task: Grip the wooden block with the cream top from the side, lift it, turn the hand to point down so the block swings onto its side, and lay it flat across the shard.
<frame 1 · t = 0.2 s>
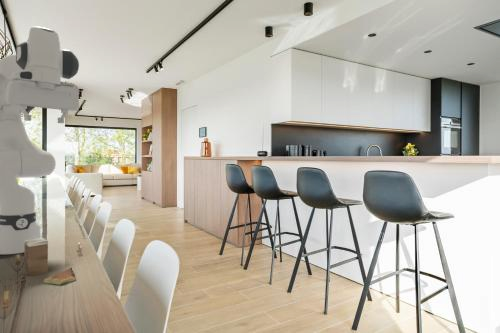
hand: (44, 121, 105), 48 cm above the table, tool pointing down, fingers open, 8 cm apart
wooden block: (36, 272, 102), on the table
shard: (59, 280, 97), on the table
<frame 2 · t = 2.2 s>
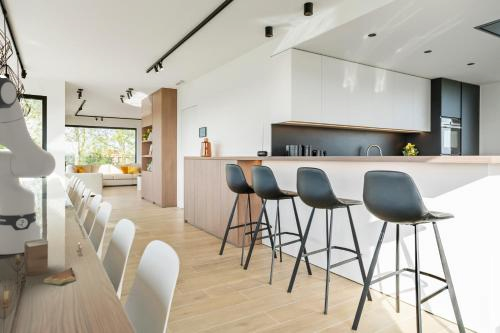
nothing on the table moved.
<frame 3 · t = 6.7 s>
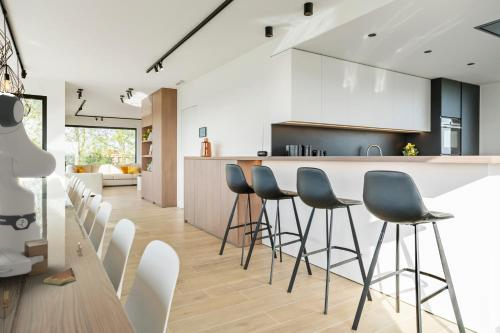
hand: (39, 255, 103), 5 cm above the table, tool horizontal, fingers closed on wooden block, 5 cm apart
wooden block: (36, 272, 102), on the table, touching gripper
everything else where it was.
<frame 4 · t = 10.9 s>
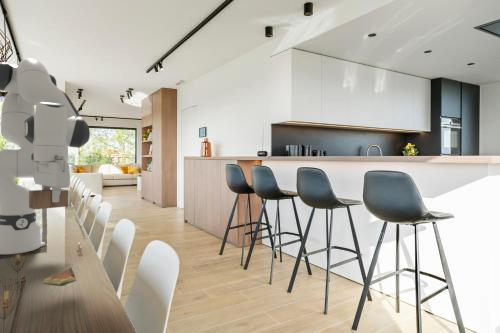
hand: (51, 201, 99), 23 cm above the table, tool pointing down, fingers closed on wooden block, 5 cm apart
wooden block: (31, 199, 95), point 24 cm above the table, tilted 90°, touching gripper
everything else where it was.
when the fingers open (5 cm above the table, at t = 14.9 s): wooden block drops 2 cm, resting on shard.
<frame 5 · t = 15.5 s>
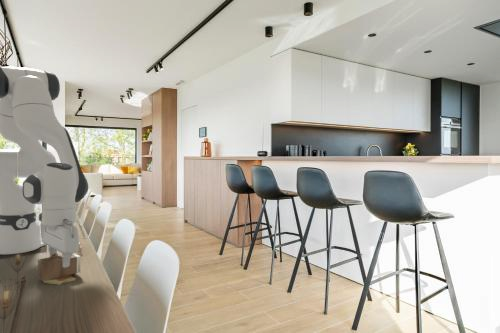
hand: (59, 263, 97), 5 cm above the table, tool pointing down, fingers open, 8 cm apart
wooden block: (40, 270, 94), point 4 cm above the table, tilted 90°, touching shard
shard: (59, 281, 97), on the table, touching wooden block
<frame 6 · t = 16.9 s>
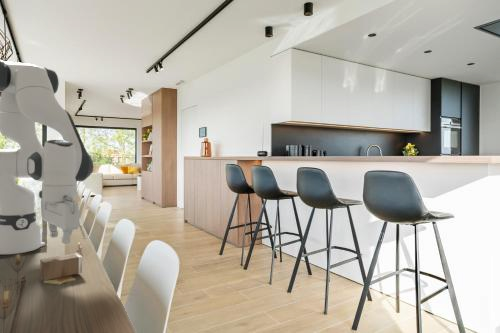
hand: (59, 239, 97), 11 cm above the table, tool pointing down, fingers open, 8 cm apart
nothing on the table moved.
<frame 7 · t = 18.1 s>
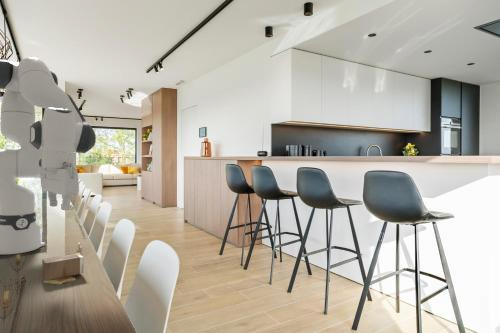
hand: (59, 208, 97), 21 cm above the table, tool pointing down, fingers open, 8 cm apart
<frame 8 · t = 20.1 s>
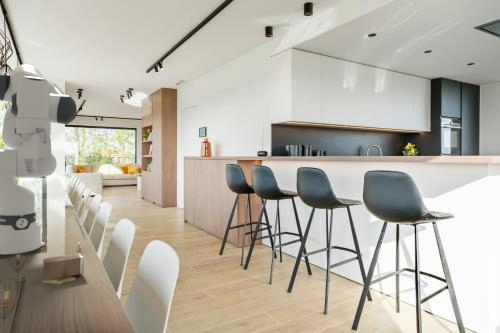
hand: (33, 173, 100), 31 cm above the table, tool pointing down, fingers open, 8 cm apart
at the end: wooden block tilted 90°; wooden block inside the target area on the shard (3.9 cm from its centre), point 4.5 cm above the shard's base; the gripper is holding nothing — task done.
